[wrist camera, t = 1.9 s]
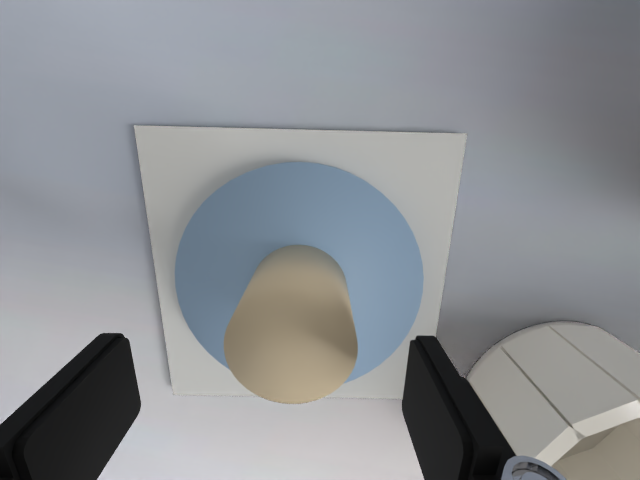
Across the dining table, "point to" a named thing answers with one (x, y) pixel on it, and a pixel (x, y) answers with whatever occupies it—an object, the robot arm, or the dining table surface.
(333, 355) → the lid
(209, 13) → the dining table surface
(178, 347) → the mat
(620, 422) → the bowl
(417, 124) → the dining table surface
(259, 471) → the dining table surface
